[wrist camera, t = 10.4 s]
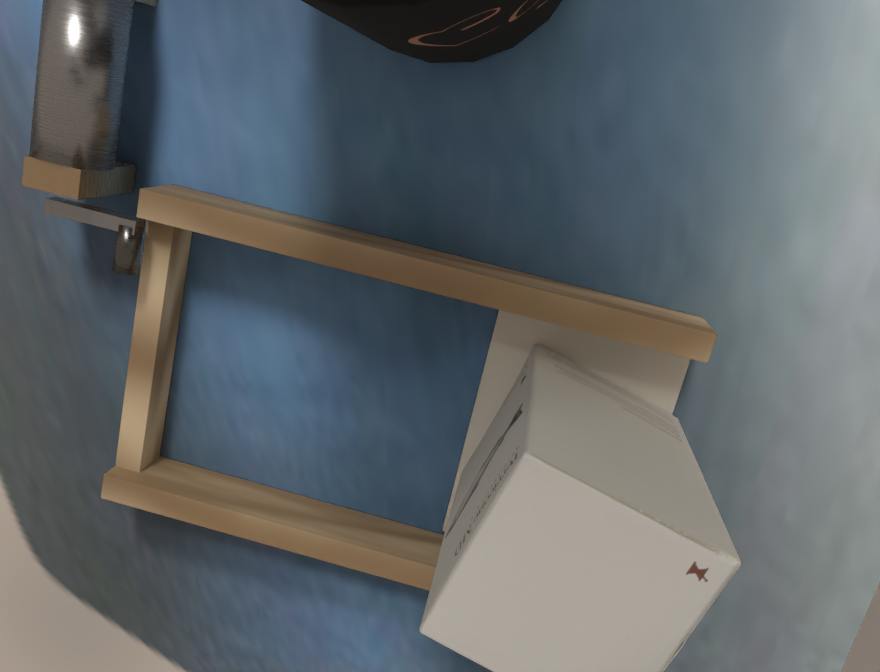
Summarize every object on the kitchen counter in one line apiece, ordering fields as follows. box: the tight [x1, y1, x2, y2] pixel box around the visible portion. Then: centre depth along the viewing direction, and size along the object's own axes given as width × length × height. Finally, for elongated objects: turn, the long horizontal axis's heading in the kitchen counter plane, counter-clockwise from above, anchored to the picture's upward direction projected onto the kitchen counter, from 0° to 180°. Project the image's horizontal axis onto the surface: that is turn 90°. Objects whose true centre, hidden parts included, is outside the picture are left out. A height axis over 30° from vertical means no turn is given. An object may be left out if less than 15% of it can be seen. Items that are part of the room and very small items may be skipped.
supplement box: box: [419, 344, 741, 672], centre depth 30 cm, size 7×7×13 cm
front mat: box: [442, 310, 690, 531], centre depth 36 cm, size 11×8×1 cm
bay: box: [101, 184, 717, 591], centre depth 35 cm, size 14×24×3 cm, turn 77°
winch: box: [22, 0, 157, 275], centre depth 33 cm, size 12×5×5 cm, turn 167°
